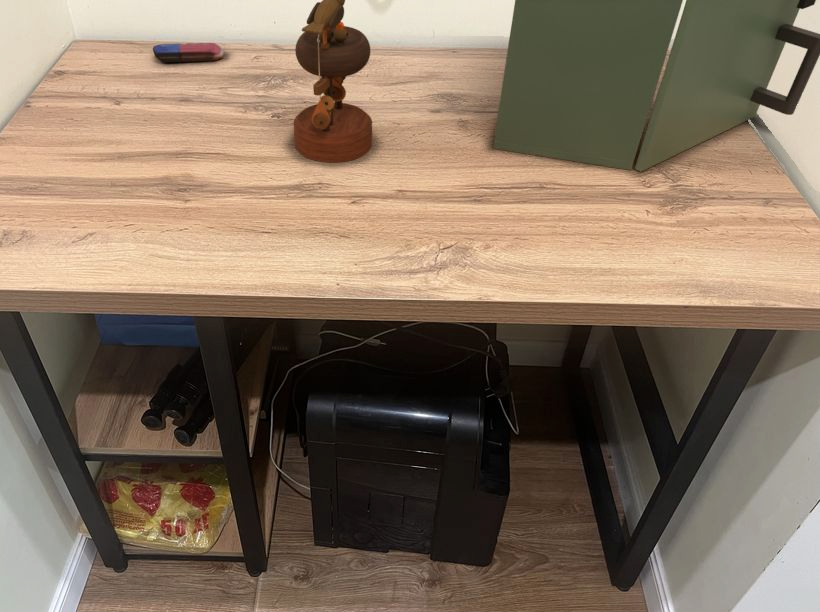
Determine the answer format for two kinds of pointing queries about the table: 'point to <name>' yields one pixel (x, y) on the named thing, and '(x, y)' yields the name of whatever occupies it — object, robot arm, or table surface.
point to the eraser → (188, 52)
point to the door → (723, 72)
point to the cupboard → (582, 77)
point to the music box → (332, 87)
